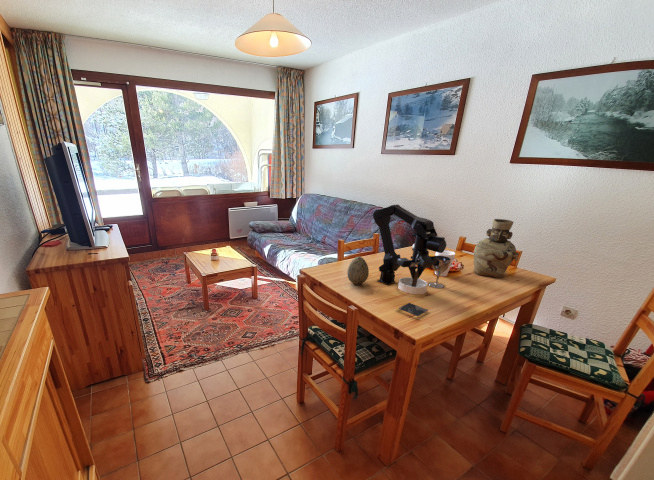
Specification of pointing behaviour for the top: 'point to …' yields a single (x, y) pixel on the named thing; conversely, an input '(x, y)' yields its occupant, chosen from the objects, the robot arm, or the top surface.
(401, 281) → the bowl
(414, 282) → the stirring stick
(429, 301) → the top surface
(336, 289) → the top surface
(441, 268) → the wine glass
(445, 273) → the foam cup
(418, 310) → the coaster
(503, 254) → the ceramic vessel
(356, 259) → the decorative egg
